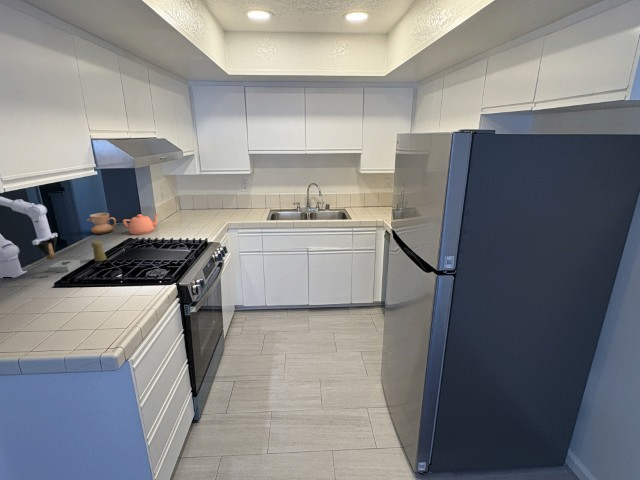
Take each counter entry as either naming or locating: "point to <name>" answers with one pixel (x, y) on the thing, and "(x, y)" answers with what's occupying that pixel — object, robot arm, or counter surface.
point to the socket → (64, 266)
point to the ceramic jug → (101, 223)
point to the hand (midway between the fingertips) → (49, 253)
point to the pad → (44, 274)
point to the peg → (50, 253)
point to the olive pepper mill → (98, 251)
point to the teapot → (141, 224)
